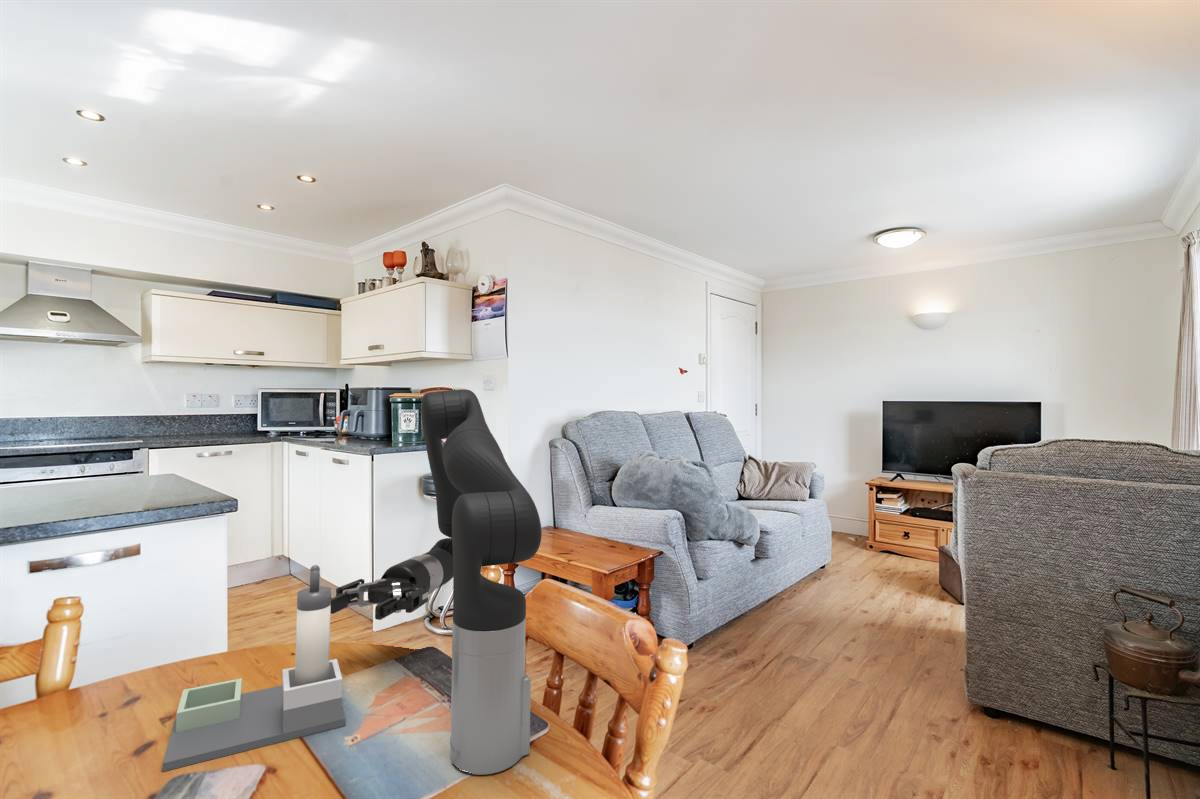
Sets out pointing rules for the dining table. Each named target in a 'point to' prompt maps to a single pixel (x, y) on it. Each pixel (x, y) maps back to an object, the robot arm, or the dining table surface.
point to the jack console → (251, 717)
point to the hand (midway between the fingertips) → (353, 610)
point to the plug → (313, 632)
